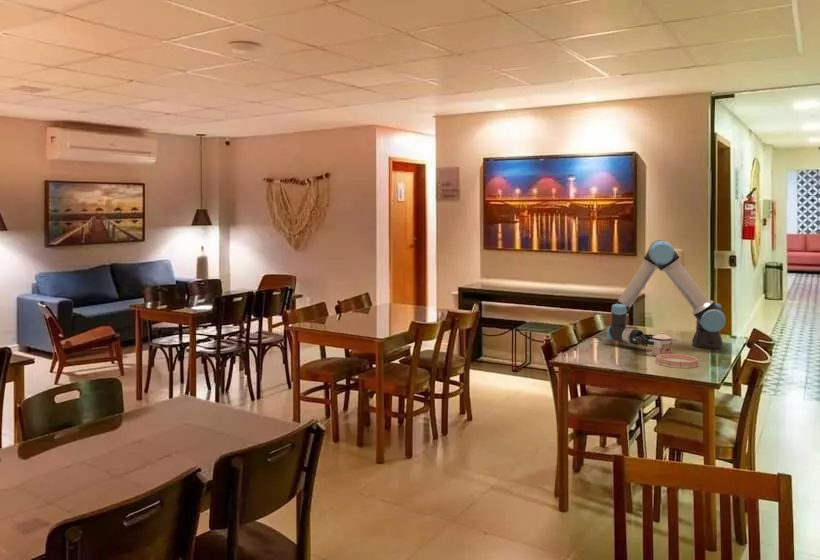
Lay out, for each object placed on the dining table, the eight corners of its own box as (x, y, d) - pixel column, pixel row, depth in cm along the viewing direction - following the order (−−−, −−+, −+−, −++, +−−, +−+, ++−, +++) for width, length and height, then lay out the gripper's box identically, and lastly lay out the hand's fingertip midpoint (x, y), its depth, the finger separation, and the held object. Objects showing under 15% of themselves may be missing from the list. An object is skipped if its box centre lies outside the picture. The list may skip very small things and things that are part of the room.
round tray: (671, 358, 326) (671, 352, 326) (705, 364, 311) (705, 359, 311) (648, 362, 316) (648, 356, 316) (682, 369, 301) (682, 363, 301)
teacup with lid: (661, 357, 327) (662, 334, 326) (647, 354, 335) (648, 331, 334) (679, 355, 332) (680, 332, 331) (664, 352, 340) (665, 329, 339)
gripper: (648, 341, 355) (683, 347, 337) (617, 346, 341) (652, 353, 324) (648, 327, 354) (684, 333, 337) (617, 331, 341) (653, 338, 323)
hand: (668, 343), depth 330 cm, fingers open, 13 cm apart
